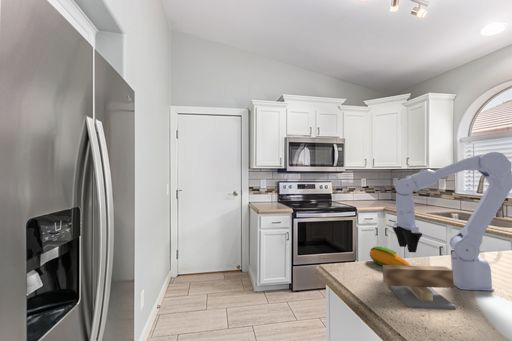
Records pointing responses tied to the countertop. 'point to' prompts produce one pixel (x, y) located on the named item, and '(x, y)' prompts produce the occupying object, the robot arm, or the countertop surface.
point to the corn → (386, 257)
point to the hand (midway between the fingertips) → (407, 249)
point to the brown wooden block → (418, 276)
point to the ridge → (422, 293)
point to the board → (413, 301)
